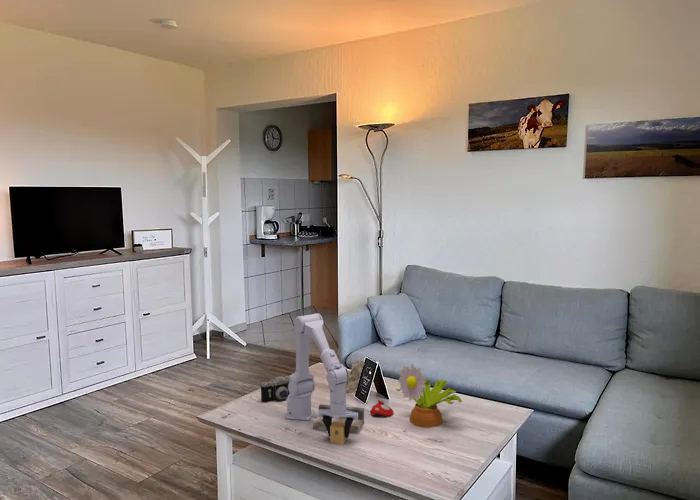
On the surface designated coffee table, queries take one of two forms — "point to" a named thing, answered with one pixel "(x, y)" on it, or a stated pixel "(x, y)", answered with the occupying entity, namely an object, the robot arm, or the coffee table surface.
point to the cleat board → (342, 420)
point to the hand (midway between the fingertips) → (338, 436)
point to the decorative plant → (424, 397)
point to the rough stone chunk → (354, 376)
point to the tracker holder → (381, 409)
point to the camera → (275, 389)
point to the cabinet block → (337, 432)
